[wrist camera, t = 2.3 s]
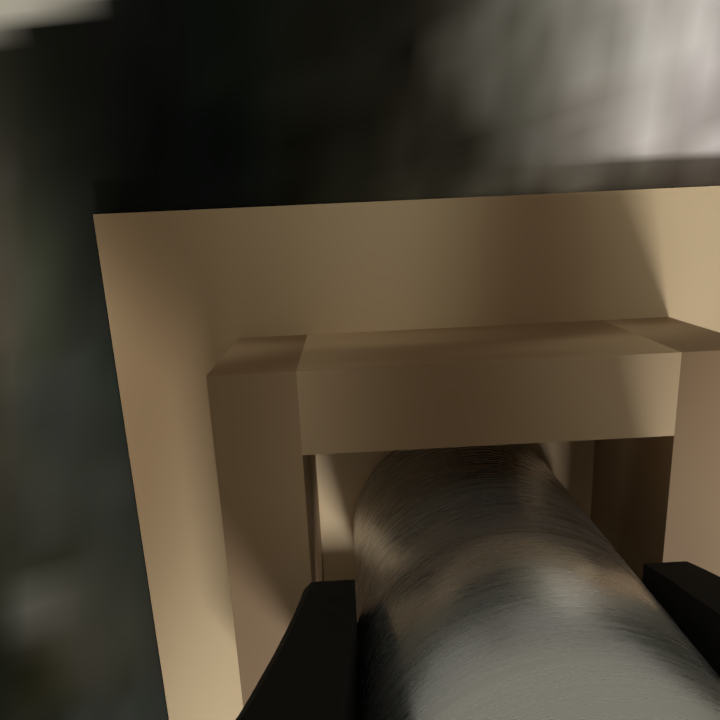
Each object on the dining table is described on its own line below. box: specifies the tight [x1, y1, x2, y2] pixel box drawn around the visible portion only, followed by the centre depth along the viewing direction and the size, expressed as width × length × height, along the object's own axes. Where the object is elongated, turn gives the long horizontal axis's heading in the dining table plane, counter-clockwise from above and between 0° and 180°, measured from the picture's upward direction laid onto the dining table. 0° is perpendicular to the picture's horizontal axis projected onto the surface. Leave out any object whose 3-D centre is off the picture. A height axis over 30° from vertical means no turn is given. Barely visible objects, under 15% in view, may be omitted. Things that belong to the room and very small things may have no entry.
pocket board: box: [93, 186, 720, 720], centre depth 11 cm, size 12×18×3 cm, turn 3°
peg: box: [353, 444, 720, 720], centre depth 7 cm, size 4×4×8 cm
